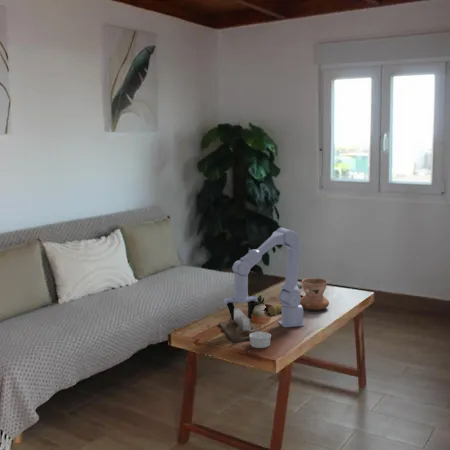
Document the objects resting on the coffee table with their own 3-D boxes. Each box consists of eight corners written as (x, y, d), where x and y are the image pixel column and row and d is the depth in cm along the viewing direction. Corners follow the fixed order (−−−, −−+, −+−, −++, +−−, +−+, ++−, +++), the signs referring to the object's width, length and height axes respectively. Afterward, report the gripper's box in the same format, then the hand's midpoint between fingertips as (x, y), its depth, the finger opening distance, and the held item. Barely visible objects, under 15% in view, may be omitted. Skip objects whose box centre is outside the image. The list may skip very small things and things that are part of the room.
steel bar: (233, 320, 272) (233, 309, 272) (239, 319, 273) (239, 308, 272) (243, 331, 257) (243, 319, 256) (249, 330, 258) (249, 319, 257)
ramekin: (244, 345, 249) (244, 335, 248) (259, 340, 255) (259, 330, 255) (260, 350, 243) (260, 340, 242) (275, 345, 249) (275, 334, 248)
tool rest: (248, 322, 279) (248, 312, 278) (264, 339, 256) (264, 328, 255) (218, 324, 275) (218, 315, 275) (232, 342, 252) (232, 331, 252)
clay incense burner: (319, 315, 289) (320, 286, 287) (292, 310, 297) (293, 282, 295) (335, 306, 304) (336, 278, 301) (309, 301, 312) (310, 274, 310)
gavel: (243, 301, 303) (257, 297, 310) (244, 310, 304) (257, 306, 311) (274, 306, 288) (288, 302, 295) (275, 316, 288) (289, 312, 295)
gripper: (227, 291, 257) (227, 322, 259) (259, 289, 260) (259, 320, 263) (223, 287, 264) (223, 317, 266) (254, 285, 267) (254, 315, 269)
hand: (241, 318), depth 265 cm, fingers open, 7 cm apart
